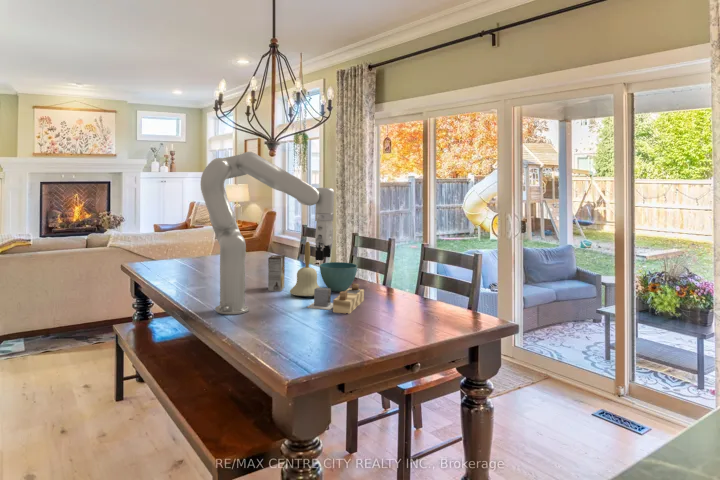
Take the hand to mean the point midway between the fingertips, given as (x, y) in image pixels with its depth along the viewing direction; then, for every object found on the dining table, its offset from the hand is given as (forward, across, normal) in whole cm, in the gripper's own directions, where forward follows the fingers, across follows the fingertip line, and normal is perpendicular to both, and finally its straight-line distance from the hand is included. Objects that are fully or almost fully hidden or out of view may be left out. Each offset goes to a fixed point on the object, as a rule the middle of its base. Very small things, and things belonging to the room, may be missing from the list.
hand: (323, 258), depth 203 cm
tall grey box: (+20, 0, 0) cm, 20 cm away
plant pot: (+20, +33, +3) cm, 39 cm away
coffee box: (+21, +23, +31) cm, 44 cm away
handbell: (+20, +16, +13) cm, 29 cm away
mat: (+20, 0, 0) cm, 20 cm away
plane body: (+20, +4, -11) cm, 23 cm away
